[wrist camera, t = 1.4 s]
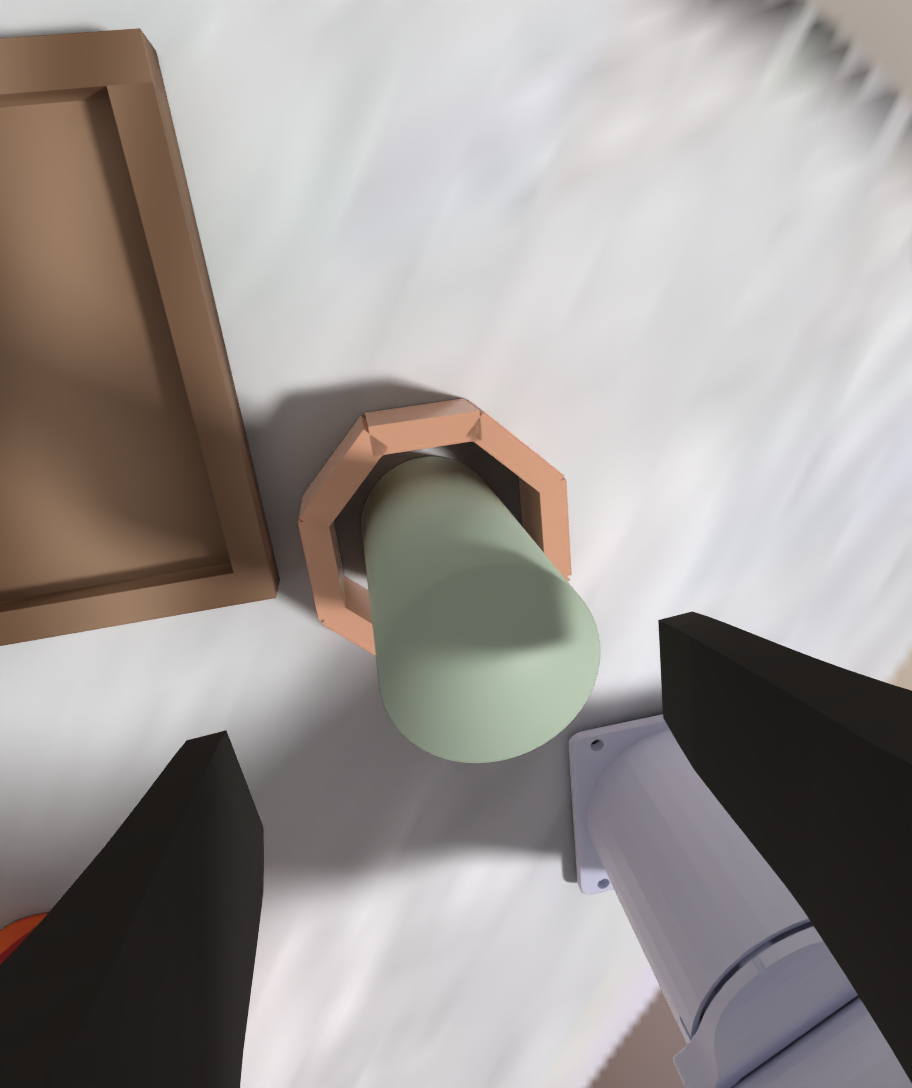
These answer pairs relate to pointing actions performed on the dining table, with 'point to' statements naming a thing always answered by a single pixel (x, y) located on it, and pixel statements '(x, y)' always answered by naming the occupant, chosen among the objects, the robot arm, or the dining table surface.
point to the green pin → (470, 618)
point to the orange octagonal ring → (407, 431)
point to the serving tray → (111, 358)
